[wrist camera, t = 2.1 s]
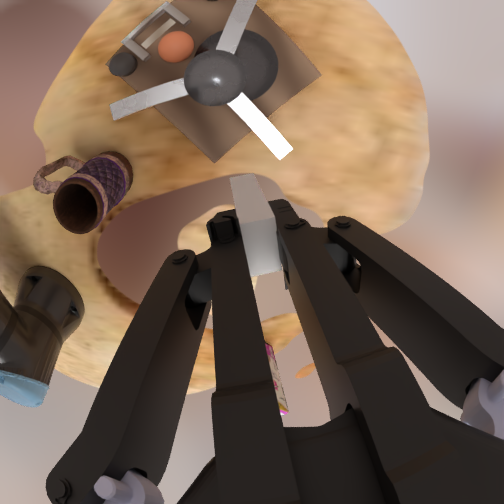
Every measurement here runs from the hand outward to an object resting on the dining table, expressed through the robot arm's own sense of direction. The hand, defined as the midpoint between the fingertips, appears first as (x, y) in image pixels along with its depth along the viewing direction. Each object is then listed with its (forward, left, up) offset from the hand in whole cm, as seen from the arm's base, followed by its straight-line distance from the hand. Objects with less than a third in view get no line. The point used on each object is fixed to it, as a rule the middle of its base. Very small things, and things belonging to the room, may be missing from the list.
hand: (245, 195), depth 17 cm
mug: (-14, +11, -19) cm, 26 cm away
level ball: (+4, +14, -17) cm, 22 cm away
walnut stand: (+6, +10, -19) cm, 22 cm away
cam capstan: (+4, +5, -17) cm, 19 cm away
